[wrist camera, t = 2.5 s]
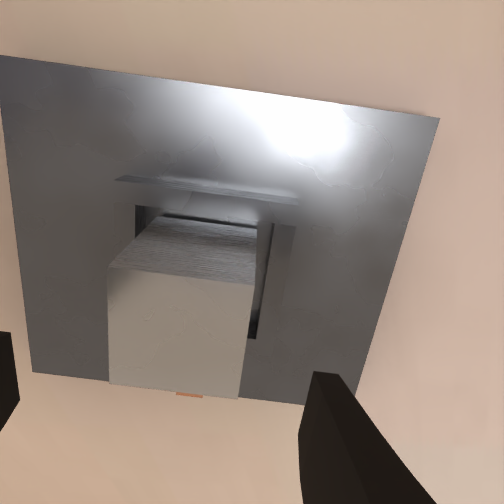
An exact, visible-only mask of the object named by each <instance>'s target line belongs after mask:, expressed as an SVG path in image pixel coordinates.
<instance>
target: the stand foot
mask: <svg viewBox="0 0 504 504" xmlns="http://www.w3.org/2000/svg"><path fill="white" fill-rule="evenodd" d="M0 107H1V116H2V124H3V132H4V140H5V149H6V157H7V165H8V174H9V182H10V190H11V198H12V207H13V215H14V223H15V231H16V240H17V248H18V256H19V265H20V273H21V281H22V289H23V298H24V306H25V314H26V323H27V331H28V339H29V347H30V356H31V364H32V372H37V373H45V374H53V375H61V376H69V377H78V378H86V379H94V380H102V381H109V344H108V297H107V266H108V265H109V264H110V263H111V262H112V261H113V260H114V259H115V258H116V257H117V256H118V255H119V254H120V253H121V252H122V251H123V250H124V249H125V248H126V247H127V246H128V245H129V244H130V243H131V242H132V241H133V240H134V239H135V238H136V237H137V236H138V235H139V234H140V233H141V232H142V231H143V230H144V229H145V228H146V227H147V226H148V225H149V224H150V223H151V222H152V221H153V220H154V219H155V218H156V217H157V216H163V217H170V218H178V219H185V220H193V221H200V222H207V223H215V224H222V225H230V226H237V227H245V228H252V229H257V242H256V267H255V288H254V294H253V301H252V307H251V314H250V321H249V327H248V334H247V341H246V347H245V354H244V360H243V367H242V374H241V380H240V387H239V394H238V397H242V398H250V399H258V400H266V401H275V402H283V403H291V404H299V405H305V403H306V399H307V395H308V391H309V387H310V383H311V379H312V375H313V371H319V372H327V373H335V374H339V375H340V377H341V378H342V379H343V381H344V382H345V384H346V385H347V386H348V388H349V389H350V391H351V392H352V394H353V395H354V396H355V393H356V390H357V387H358V384H359V380H360V377H361V374H362V371H363V367H364V364H365V361H366V358H367V354H368V351H369V348H370V345H371V341H372V338H373V335H374V332H375V328H376V325H377V322H378V318H379V315H380V312H381V309H382V305H383V302H384V299H385V296H386V292H387V289H388V286H389V283H390V279H391V276H392V273H393V270H394V266H395V263H396V260H397V257H398V253H399V250H400V247H401V244H402V240H403V237H404V234H405V231H406V227H407V224H408V221H409V218H410V214H411V211H412V208H413V205H414V201H415V198H416V195H417V192H418V188H419V185H420V182H421V179H422V175H423V172H424V169H425V166H426V162H427V159H428V156H429V153H430V149H431V146H432V143H433V140H434V136H435V133H436V130H437V126H438V123H439V120H440V118H436V117H429V116H422V115H415V114H408V113H401V112H394V111H387V110H380V109H373V108H366V107H359V106H352V105H345V104H338V103H331V102H324V101H317V100H310V99H303V98H296V97H290V96H283V95H276V94H269V93H262V92H255V91H248V90H241V89H234V88H227V87H220V86H213V85H206V84H199V83H192V82H185V81H178V80H171V79H164V78H157V77H150V76H143V75H136V74H129V73H122V72H115V71H108V70H101V69H94V68H87V67H81V66H74V65H67V64H60V63H53V62H46V61H39V60H32V59H25V58H18V57H11V56H4V55H0ZM176 395H183V396H191V397H200V398H202V397H203V395H197V394H189V393H181V392H176Z"/></svg>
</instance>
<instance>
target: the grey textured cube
mask: <svg viewBox="0 0 504 504" xmlns="http://www.w3.org/2000/svg"><path fill="white" fill-rule="evenodd" d="M256 242H257V229H252V228H245V227H237V226H230V225H222V224H215V223H207V222H200V221H193V220H185V219H178V218H170V217H163V216H157V217H156V218H155V219H154V220H153V221H152V222H151V223H150V224H149V225H148V226H147V227H146V228H145V229H144V230H143V231H142V232H141V233H140V234H139V235H138V236H137V237H136V238H135V239H134V240H133V241H132V242H131V243H130V244H129V245H128V246H127V247H126V248H125V249H124V250H123V251H122V252H121V253H120V254H119V255H118V256H117V257H116V258H115V259H114V260H113V261H112V262H111V263H110V264H109V265H108V266H107V297H108V344H109V384H115V385H123V386H132V387H140V388H148V389H156V390H164V391H173V392H181V393H189V394H197V395H206V396H214V397H222V398H230V399H238V394H239V387H240V380H241V374H242V367H243V360H244V354H245V347H246V341H247V334H248V327H249V321H250V314H251V307H252V301H253V294H254V288H255V267H256Z"/></svg>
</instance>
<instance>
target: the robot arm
mask: <svg viewBox="0 0 504 504" xmlns="http://www.w3.org/2000/svg"><path fill="white" fill-rule="evenodd" d="M19 401H20V396H19V389H18V382H17V375H16V368H15V361H14V353H13V346H12V339H11V332H3V331H0V431H1V430H2V428H3V427H4V425H5V424H6V422H7V420H8V419H9V417H10V416H11V414H12V412H13V411H14V409H15V407H16V406H17V404H18V402H19ZM298 446H299V470H300V483H301V490H302V497H303V504H436V502H435V501H434V500H433V499H432V498H431V496H430V495H429V494H428V493H427V492H426V490H425V489H424V488H423V487H422V486H421V484H420V483H419V482H418V481H417V480H416V478H415V477H414V476H413V475H412V473H411V472H410V471H409V470H408V468H407V467H406V466H405V464H404V463H403V462H402V461H401V459H400V458H399V457H398V455H397V454H396V453H395V451H394V450H393V449H392V447H391V446H390V445H389V443H388V442H387V441H386V439H385V438H384V437H383V436H382V434H381V433H380V431H379V430H378V429H377V427H376V426H375V425H374V423H373V422H372V420H371V419H370V418H369V416H368V415H367V413H366V412H365V411H364V409H363V408H362V406H361V405H360V404H359V402H358V401H357V399H356V398H355V396H354V395H353V394H352V392H351V391H350V389H349V388H348V386H347V385H346V384H345V382H344V381H343V379H342V378H341V377H340V375H339V374H335V373H327V372H319V371H313V375H312V379H311V383H310V387H309V391H308V395H307V399H306V403H305V407H304V412H303V416H302V420H301V424H300V428H299V432H298Z"/></svg>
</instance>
